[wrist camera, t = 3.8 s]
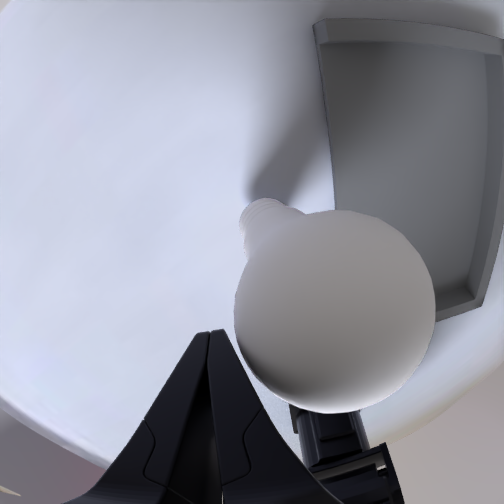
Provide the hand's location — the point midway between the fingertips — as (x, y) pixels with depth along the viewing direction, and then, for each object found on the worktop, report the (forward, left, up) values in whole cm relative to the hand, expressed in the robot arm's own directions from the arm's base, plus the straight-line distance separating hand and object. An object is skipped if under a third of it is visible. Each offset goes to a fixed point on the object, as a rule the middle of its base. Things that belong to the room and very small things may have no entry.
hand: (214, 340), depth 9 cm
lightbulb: (0, -2, -8) cm, 8 cm away
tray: (0, -12, -8) cm, 14 cm away
